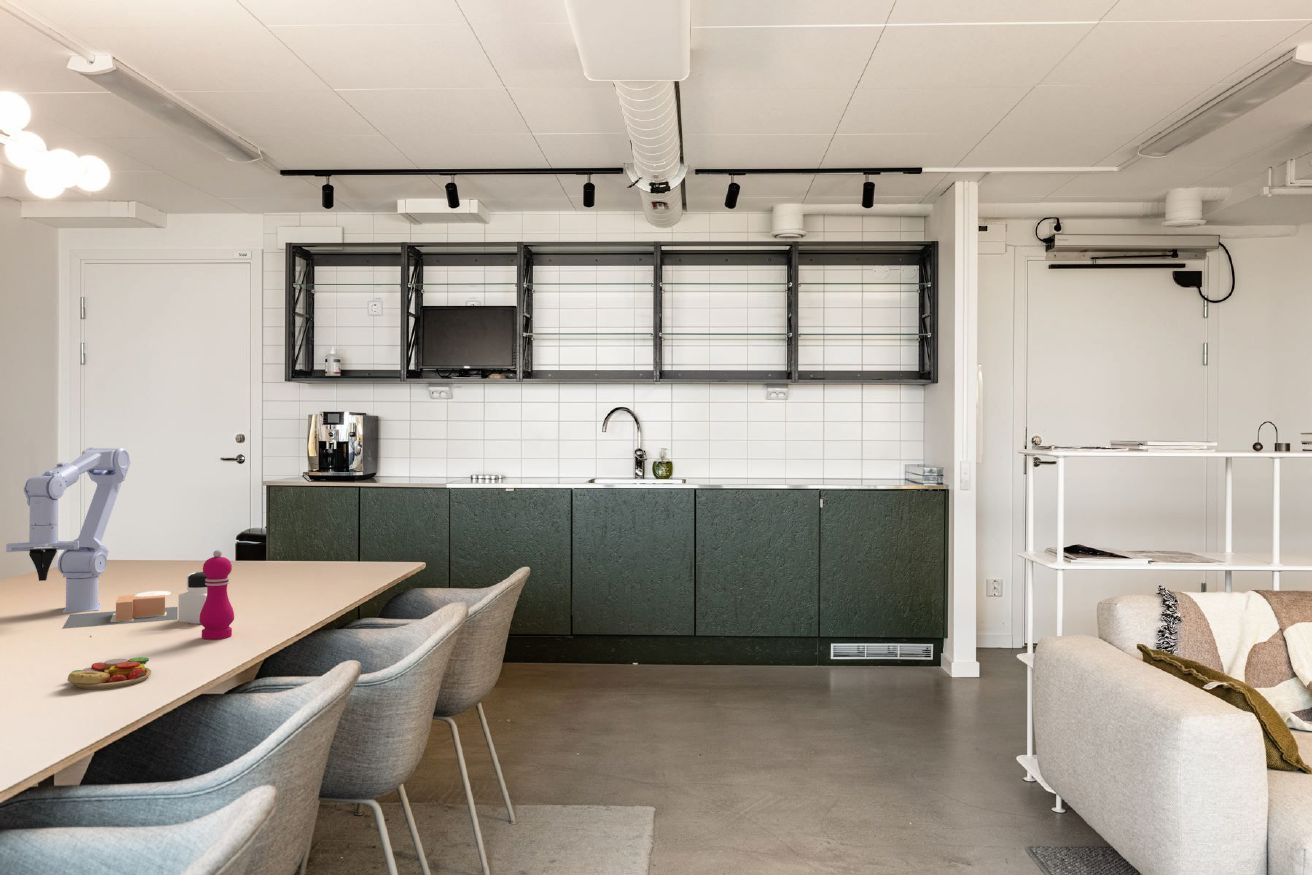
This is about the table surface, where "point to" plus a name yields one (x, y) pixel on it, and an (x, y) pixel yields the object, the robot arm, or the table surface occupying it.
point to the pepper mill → (217, 599)
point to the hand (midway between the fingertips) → (42, 580)
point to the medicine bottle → (193, 598)
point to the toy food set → (111, 674)
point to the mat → (110, 618)
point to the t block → (139, 606)
